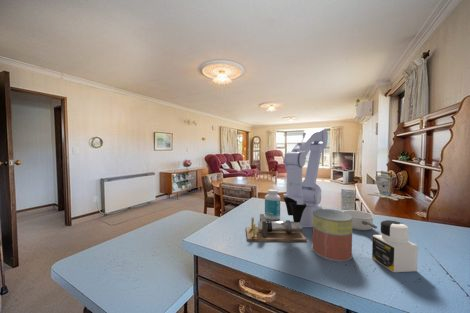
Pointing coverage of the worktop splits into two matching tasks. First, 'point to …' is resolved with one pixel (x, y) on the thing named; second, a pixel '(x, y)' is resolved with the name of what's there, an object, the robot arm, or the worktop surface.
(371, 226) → the saucepan
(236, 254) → the worktop surface
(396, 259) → the medicine bottle
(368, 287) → the worktop surface
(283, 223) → the air tube
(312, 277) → the worktop surface
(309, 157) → the robot arm
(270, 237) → the walnut board
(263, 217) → the iron collar
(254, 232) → the brass index gate
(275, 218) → the pill bottle
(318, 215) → the canned food
